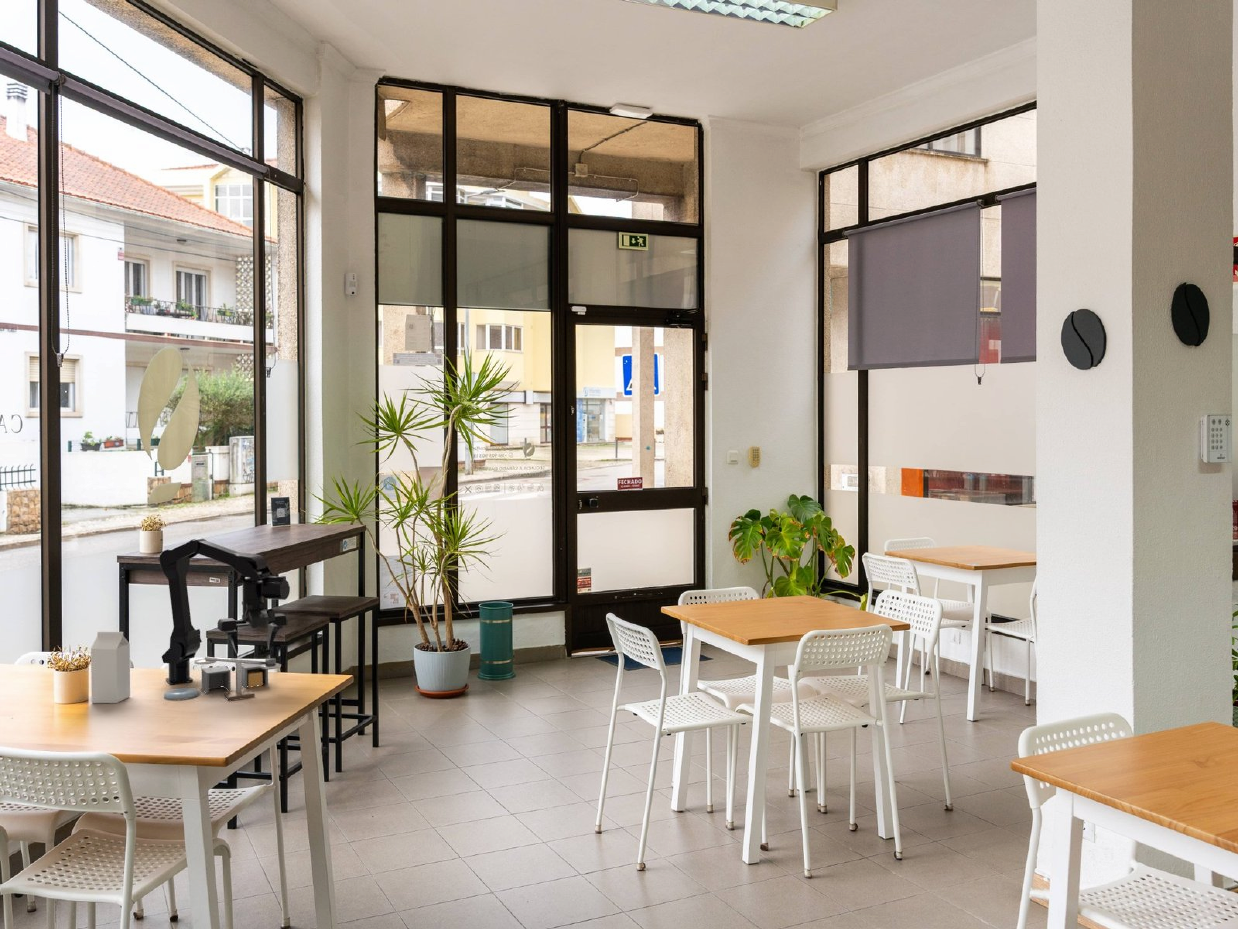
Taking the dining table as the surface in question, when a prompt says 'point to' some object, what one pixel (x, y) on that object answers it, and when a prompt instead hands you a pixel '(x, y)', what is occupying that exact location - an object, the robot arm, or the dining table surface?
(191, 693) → the slate dish
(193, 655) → the robot arm
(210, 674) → the grey cube box
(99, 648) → the milk carton
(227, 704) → the dining table surface
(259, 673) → the orange block
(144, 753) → the dining table surface
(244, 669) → the hiding cup
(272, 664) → the balance scale
